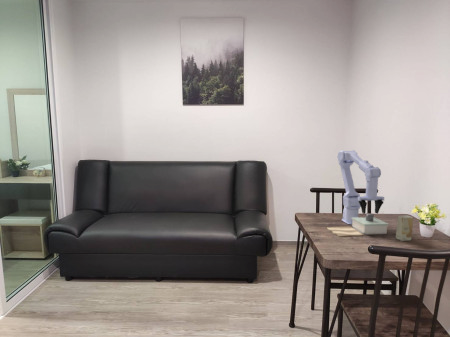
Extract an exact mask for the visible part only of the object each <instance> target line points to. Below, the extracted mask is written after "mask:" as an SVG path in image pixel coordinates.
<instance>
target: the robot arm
mask: <svg viewBox="0 0 450 337" xmlns="http://www.w3.org/2000/svg"><path fill="white" fill-rule="evenodd" d="M337 161H338V165H339V167H340V171H341V176H342V179H343V185H344V189H345V193H344V195H343V196H342V204H343V206H344V208H343V209H342V210H343V211H342V219H340V220H341V221H342V222H344V223H345V224H348V225H352V223H353V219H352V217H359V212H360V209H361V213H362V214H364V215H366V211H367V210H366V209H367V204H368V202H369V201H372V202H373V201H374V213H375V214H379V212H380V209H381V207H382V205H383V204H384V201H385V197H384V196H378V185H379V178H380V177H381V175H382V171H381V169H380V168H379V167H378V166H374V165H373V164H371V163H370V162H369V160H363V159H362V158H361V157H360V156H359V155H358V152H357V151H356V150H339V152H338V154H337ZM354 163H355V164H356V165H358V168H359V169H360V171H362V172H363V173H364V176H365V181H366V185H365V195H364V196H361V195H360V194H359V193H358V192H357V191H356V188H355V185H354V184H355V183H354V180H353V175H352V172H351V166H352V165H353V164H354ZM366 201H368V202H366Z"/></svg>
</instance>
